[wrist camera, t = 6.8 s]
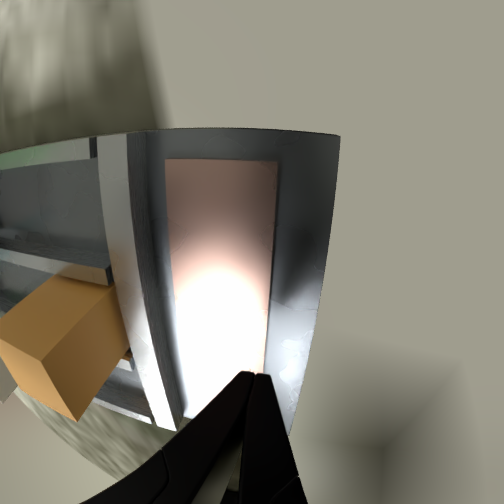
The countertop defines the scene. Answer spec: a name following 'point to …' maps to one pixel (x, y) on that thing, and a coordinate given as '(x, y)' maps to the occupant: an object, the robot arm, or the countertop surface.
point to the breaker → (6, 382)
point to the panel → (180, 252)
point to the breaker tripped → (64, 342)
